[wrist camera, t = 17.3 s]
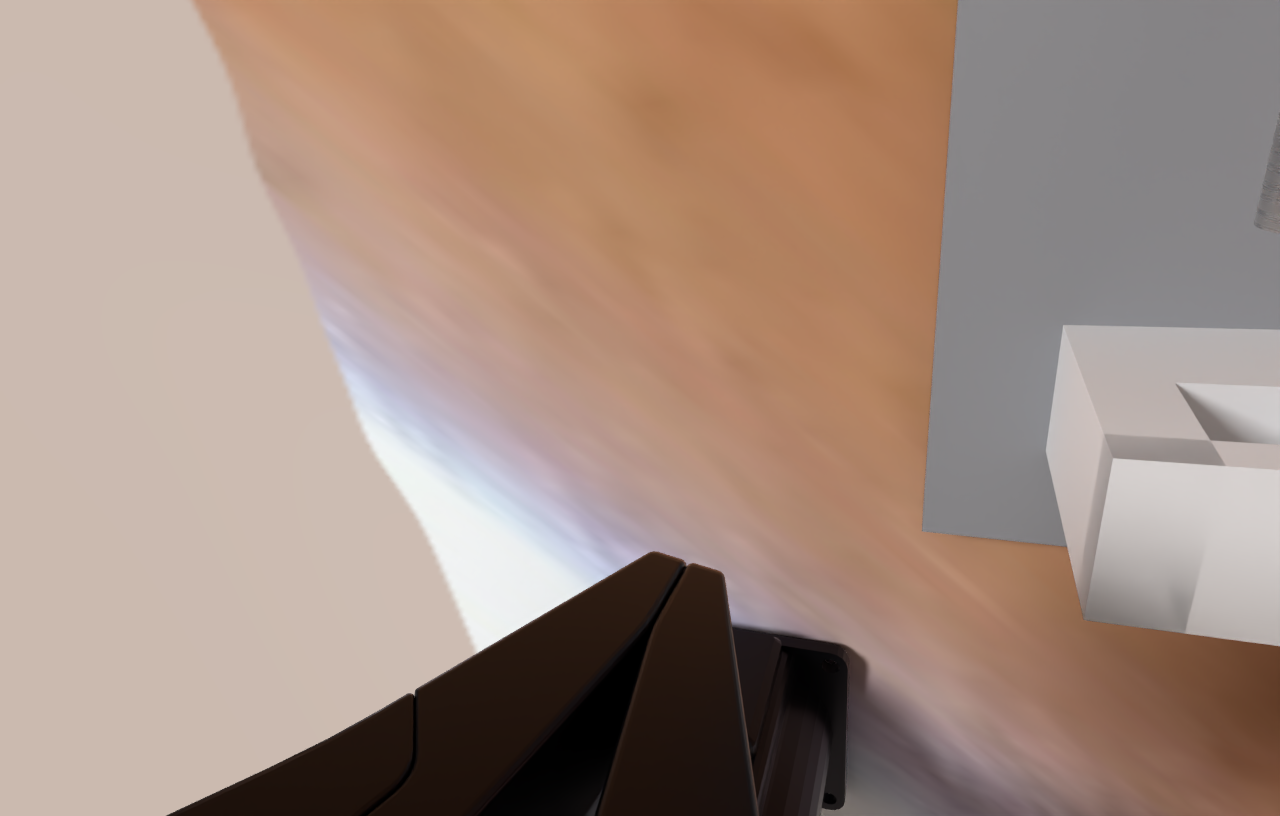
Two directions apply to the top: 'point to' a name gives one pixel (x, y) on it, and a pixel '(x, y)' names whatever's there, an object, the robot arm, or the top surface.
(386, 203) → the top surface
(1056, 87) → the mounting plate
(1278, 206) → the locking pin
